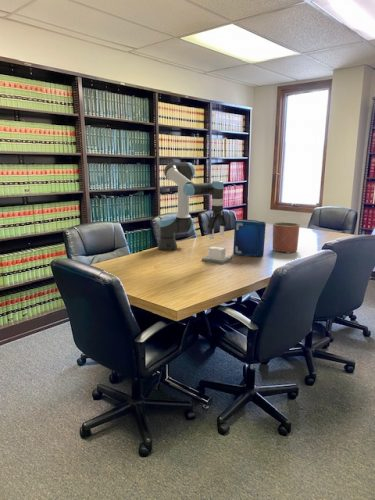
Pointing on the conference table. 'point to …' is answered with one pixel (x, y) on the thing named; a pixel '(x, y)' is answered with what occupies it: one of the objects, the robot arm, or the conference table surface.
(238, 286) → the conference table surface
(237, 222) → the book
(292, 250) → the planter
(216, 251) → the block
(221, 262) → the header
